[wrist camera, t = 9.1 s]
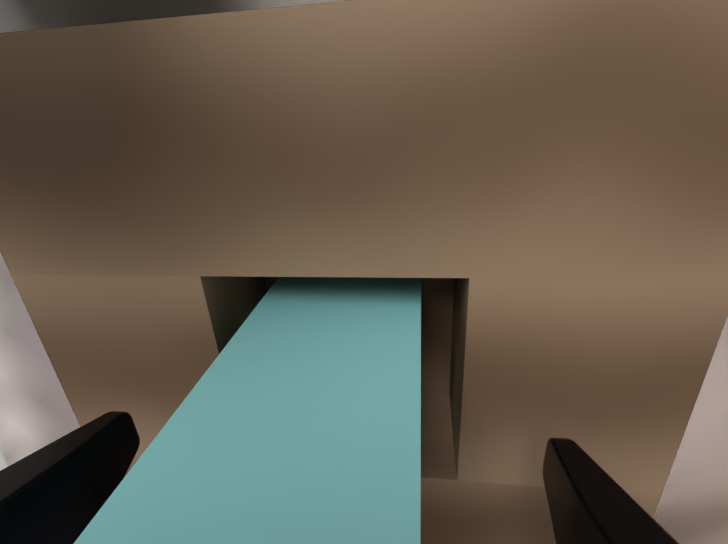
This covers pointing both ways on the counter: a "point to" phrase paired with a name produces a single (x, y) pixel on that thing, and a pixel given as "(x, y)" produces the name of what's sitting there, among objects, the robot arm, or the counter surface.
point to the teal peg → (291, 429)
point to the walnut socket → (391, 216)
